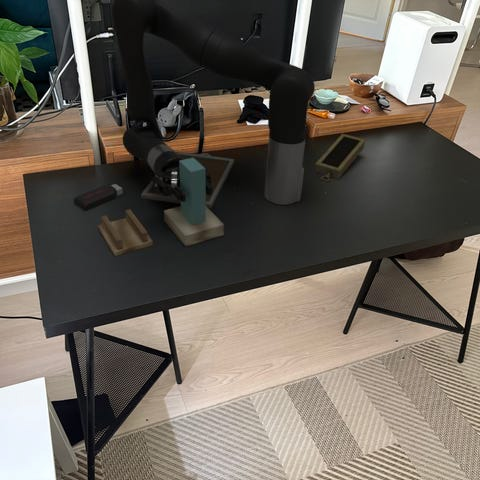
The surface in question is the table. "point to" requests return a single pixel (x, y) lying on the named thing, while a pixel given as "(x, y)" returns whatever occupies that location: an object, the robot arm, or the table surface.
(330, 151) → the box
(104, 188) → the usb drive
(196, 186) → the tall teal prism
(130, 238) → the rack
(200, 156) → the grey framed brown panel
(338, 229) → the table surface
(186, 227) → the block
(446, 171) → the table surface
